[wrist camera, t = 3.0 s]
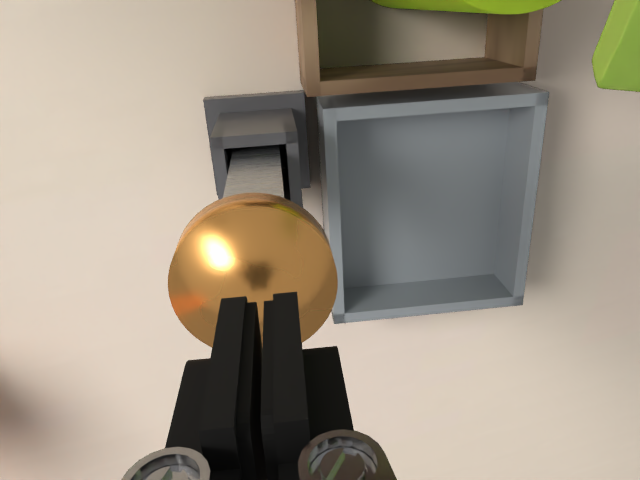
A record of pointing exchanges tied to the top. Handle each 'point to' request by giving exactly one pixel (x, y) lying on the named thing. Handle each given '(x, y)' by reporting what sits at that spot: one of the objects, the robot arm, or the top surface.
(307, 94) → the wooden box
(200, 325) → the plunger
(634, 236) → the top surface
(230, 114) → the plunger collar
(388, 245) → the tray
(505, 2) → the soap dispenser
